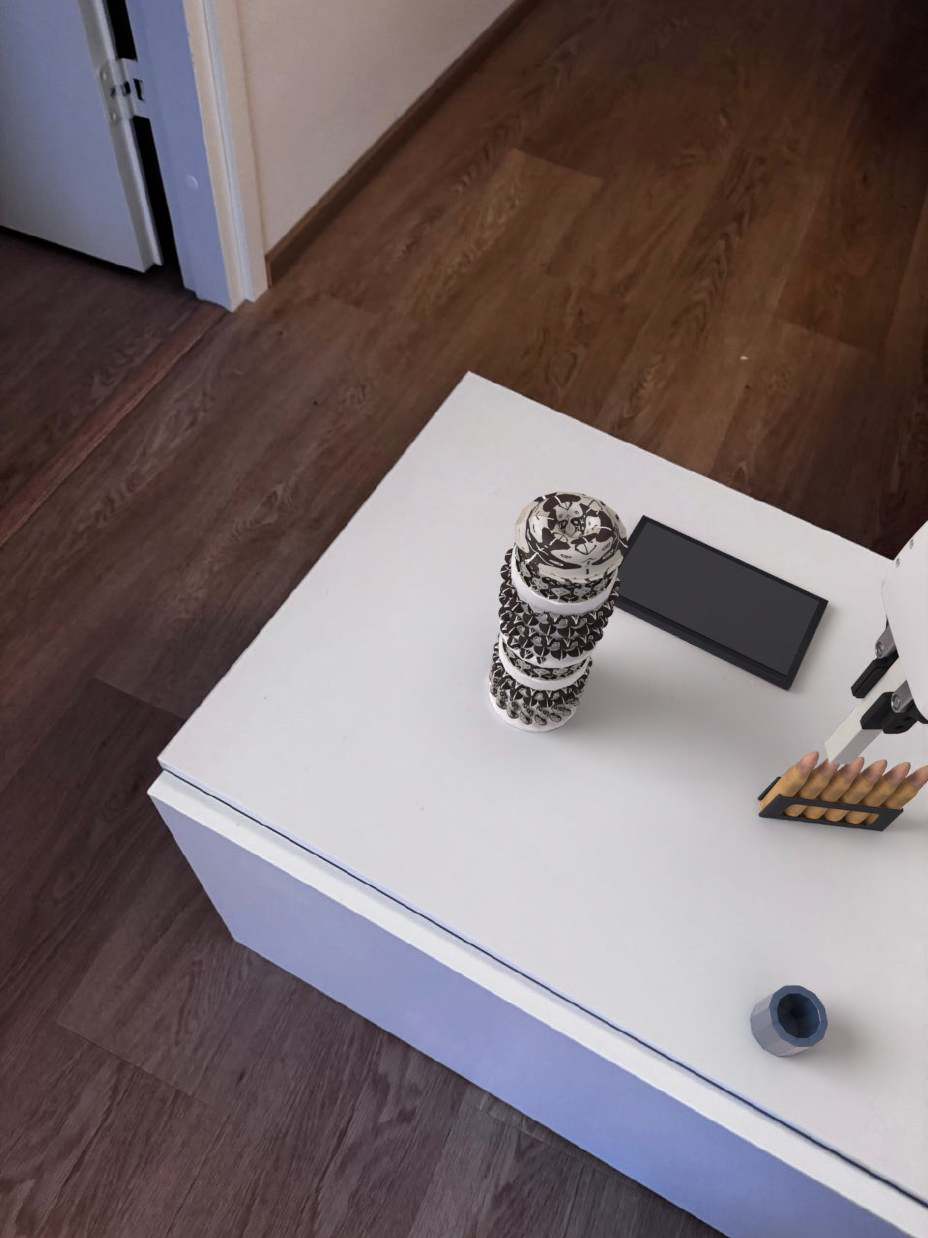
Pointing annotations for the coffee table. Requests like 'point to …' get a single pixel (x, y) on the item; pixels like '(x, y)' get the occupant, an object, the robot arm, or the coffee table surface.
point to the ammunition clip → (842, 793)
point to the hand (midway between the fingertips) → (879, 708)
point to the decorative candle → (554, 607)
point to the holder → (789, 1021)
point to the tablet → (717, 602)
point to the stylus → (850, 733)
